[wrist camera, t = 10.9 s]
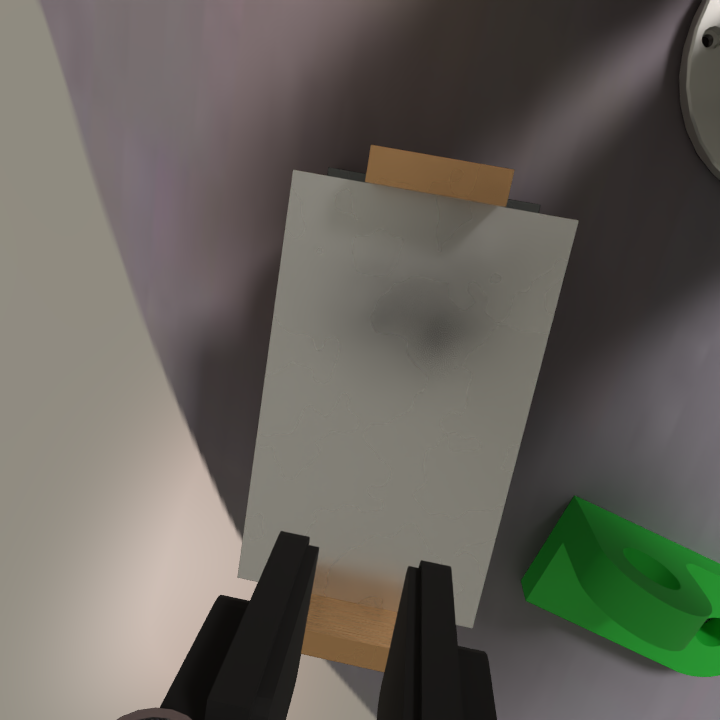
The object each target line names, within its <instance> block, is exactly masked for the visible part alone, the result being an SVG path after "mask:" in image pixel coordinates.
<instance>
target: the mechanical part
mask: <svg viewBox="0 0 720 720" xmlns="http://www.w3.org/2000/svg"><path fill="white" fill-rule="evenodd" d="M521 584H522V588H523V592H524V596H525V600H526V601H527V602H529V603H532V604H534V605H536V606H538V607H540V608H542V609H544V610H547V611H549V612H551V613H553V614H555V615H557V616H559V617H562V618H564V619H566V620H568V621H570V622H572V623H574V624H577V625H579V626H581V627H583V628H585V629H587V630H589V631H592V632H594V633H596V634H598V635H600V636H602V637H604V638H606V639H609V640H611V641H613V642H615V643H617V644H619V645H621V646H624V647H626V648H628V649H630V650H632V651H634V652H636V653H639V654H641V655H643V656H645V657H647V658H649V659H651V660H654V661H656V662H658V663H660V664H662V665H664V666H666V667H669V668H671V669H673V670H675V671H677V672H680V673H683V674H686V675H691V676H697V677H711V676H718V675H720V564H719V563H717V562H715V561H713V560H711V559H708V558H706V557H704V556H702V555H700V554H698V553H696V552H694V551H691V550H689V549H687V548H685V547H683V546H681V545H679V544H677V543H675V542H672V541H670V540H668V539H666V538H664V537H662V536H660V535H658V534H655V533H653V532H651V531H649V530H647V529H645V528H643V527H641V526H638V525H636V524H634V523H632V522H630V521H628V520H626V519H624V518H621V517H619V516H617V515H615V514H613V513H611V512H609V511H607V510H604V509H602V508H600V507H598V506H596V505H594V504H592V503H590V502H587V501H585V500H583V499H581V498H579V497H577V496H575V495H574V497H573V499H572V500H571V502H570V503H569V505H568V506H567V508H566V510H565V511H564V513H563V514H562V516H561V518H560V519H559V521H558V522H557V524H556V526H555V527H554V529H553V530H552V532H551V534H550V535H549V537H548V538H547V540H546V542H545V543H544V545H543V546H542V548H541V550H540V551H539V553H538V554H537V556H536V558H535V559H534V561H533V562H532V564H531V565H530V567H529V569H528V570H527V572H526V573H525V575H524V577H523V578H522V580H521ZM708 618H712V619H711V620H710V621H709V622H707V623H704V622H705V621H706V620H707V619H708Z"/></svg>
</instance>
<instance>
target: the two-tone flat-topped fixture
mask: <svg viewBox="0 0 720 720" xmlns="http://www.w3.org/2000/svg"><path fill="white" fill-rule="evenodd" d="M513 174H514V169H508V168H502V167H496V166H491V165H485V164H479V163H473V162H468V161H462V160H456V159H450V158H445V157H439V156H433V155H427V154H422V153H416V152H410V151H404V150H399V149H393V148H387V147H381V146H376V145H371V148H370V154H369V160H368V166H367V172H366V174H364V173H358V172H352V171H347V170H341V169H335V168H330V167H328V174H327V176H325V175H320V174H314V173H308V172H303V171H297V170H293V175H292V182H291V190H290V197H289V204H288V212H287V219H286V226H285V233H284V241H283V248H282V255H281V263H280V270H279V277H278V285H277V292H276V299H275V307H274V314H273V321H272V329H271V336H270V343H269V351H268V358H267V365H266V373H265V380H264V387H263V395H262V402H261V409H260V417H259V424H258V431H257V439H256V446H255V453H254V461H253V468H252V475H251V482H250V490H249V497H248V504H247V512H246V519H245V526H244V534H243V541H242V549H241V556H240V564H239V570H238V578H243V579H247V580H252V581H256V582H258V581H259V579H260V577H261V574H262V572H263V570H264V567H265V565H266V563H267V561H268V558H269V556H270V554H271V551H272V549H273V547H274V544H275V542H276V540H277V538H278V535H279V533H280V531H284V532H289V533H294V534H299V535H304V536H308V537H310V542H309V545H312V546H316V547H319V554H318V560H317V565H316V571H315V577H314V582H313V588H312V594H311V600H310V605H309V611H308V617H307V622H306V628H305V634H304V640H303V645H302V651H301V654H304V655H309V656H314V657H318V658H322V659H327V660H331V661H336V662H340V663H345V664H349V665H354V666H358V667H363V668H367V669H372V670H376V671H381V672H385V667H386V663H387V658H388V653H389V649H390V644H391V640H392V635H393V631H394V626H395V622H396V617H397V612H398V608H399V603H400V599H401V594H402V590H403V585H404V581H405V576H406V572H407V568H408V566H412V567H417V568H419V564H420V561H421V560H423V561H428V562H433V563H437V564H442V565H447V566H451V569H452V581H453V594H454V607H455V620H456V625H459V626H464V627H469V628H473V624H474V621H475V617H476V613H477V609H478V605H479V601H480V598H481V594H482V590H483V586H484V582H485V578H486V574H487V571H488V567H489V563H490V559H491V555H492V551H493V548H494V544H495V540H496V536H497V532H498V528H499V525H500V521H501V517H502V513H503V509H504V505H505V502H506V498H507V494H508V490H509V486H510V482H511V479H512V475H513V471H514V467H515V463H516V459H517V456H518V452H519V448H520V444H521V440H522V436H523V433H524V429H525V425H526V421H527V417H528V413H529V409H530V406H531V402H532V398H533V394H534V390H535V386H536V383H537V379H538V375H539V371H540V367H541V363H542V360H543V356H544V352H545V348H546V344H547V340H548V337H549V333H550V329H551V325H552V321H553V317H554V314H555V310H556V306H557V302H558V298H559V294H560V291H561V287H562V283H563V279H564V275H565V271H566V268H567V264H568V260H569V256H570V252H571V248H572V245H573V241H574V237H575V233H576V229H577V225H578V221H579V220H573V219H567V218H562V217H556V216H550V215H545V214H539V209H540V205H539V204H533V203H527V202H522V201H516V200H511V199H508V196H509V192H510V187H511V183H512V178H513Z"/></svg>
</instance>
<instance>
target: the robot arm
mask: <svg viewBox="0 0 720 720" xmlns="http://www.w3.org/2000/svg"><path fill="white" fill-rule="evenodd" d="M702 37H706V38H708V40H709V45H708V47H707V48H706V47H704V45H703V43H702ZM679 87H680V106H681V110H682V114H683V119H684V123H685V127H686V131H687V133H688V135H689V137H690V139H691V142H692V144H693V146H694V148H695V150H696V152H697V154H698V155H699V157H700V158H701V159H702V161H703V162H704V163H705V165H706V166H707V167H708V168H709V170H710V171H711V172H712V174H713V175H714V176H716V177H717V178H718V179H719V180H720V0H702V2H701V4H700V6H699V8H698V10H697V11H696V13H695V15H694V17H693V20H692V23H691V26H690V29H689V32H688V35H687V38H686V41H685V44H684V47H683V53H682V60H681V67H680V74H679ZM309 542H310V537H308V536H304V535H299V534H294V533H289V532H284V531H280V533H279V535H278V538H277V540H276V542H275V544H274V547H273V549H272V551H271V554H270V556H269V558H268V561H267V563H266V565H265V567H264V570H263V572H262V574H261V577H260V579H259V581H258V584H257V586H256V588H255V591H254V593H253V595H252V597H251V600H250V601H247V600H243V599H238V598H233V597H229V596H224V595H220V596H219V597H218V598H217V600H216V601H215V603H214V605H213V607H212V609H211V610H210V612H209V614H208V616H207V618H206V620H205V622H204V624H203V626H202V628H201V630H200V631H199V633H198V635H197V637H196V639H195V641H194V643H193V645H192V647H191V649H190V651H189V653H188V654H187V656H186V659H185V660H184V662H183V664H182V666H181V668H180V670H179V672H178V674H177V676H176V677H175V679H174V681H173V683H172V685H171V687H170V689H169V691H168V693H167V695H166V697H165V699H164V701H163V703H162V704H161V706H160V708H150V709H143V710H137V711H135V712H132V713H130V714H127V715H124V716H122V717H120V718H119V719H117V720H286V717H287V713H288V709H289V706H290V702H291V698H292V694H293V691H294V687H295V682H296V678H297V672H298V668H299V661H300V656H301V651H302V645H303V640H304V634H305V628H306V622H307V617H308V611H309V605H310V600H311V594H312V588H313V582H314V577H315V571H316V565H317V560H318V554H319V547H316V546H312V545H309ZM377 720H497V717H496V710H495V703H494V696H493V689H492V682H491V675H490V668H489V661H488V657H487V654H486V653H485V652H484V651H479V650H474V649H470V648H465V647H460V646H458V645H457V632H456V620H455V607H454V594H453V581H452V569H451V566H447V565H442V564H437V563H433V562H428V561H423V560H421V561H420V564H419V568H417V567H412V566H408V568H407V572H406V576H405V581H404V585H403V590H402V594H401V599H400V603H399V608H398V612H397V617H396V622H395V626H394V631H393V635H392V640H391V644H390V649H389V653H388V658H387V663H386V667H385V672H384V676H383V681H382V685H381V691H380V697H379V703H378V713H377Z"/></svg>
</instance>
